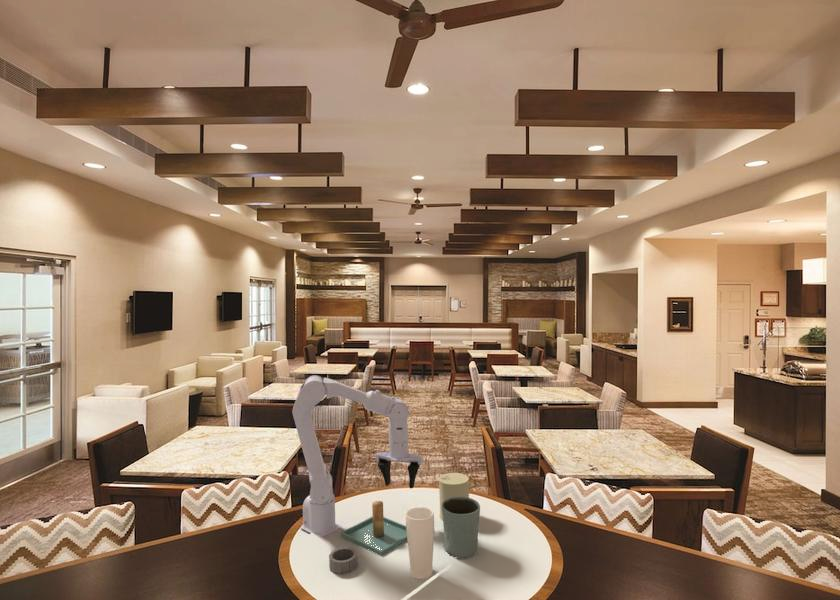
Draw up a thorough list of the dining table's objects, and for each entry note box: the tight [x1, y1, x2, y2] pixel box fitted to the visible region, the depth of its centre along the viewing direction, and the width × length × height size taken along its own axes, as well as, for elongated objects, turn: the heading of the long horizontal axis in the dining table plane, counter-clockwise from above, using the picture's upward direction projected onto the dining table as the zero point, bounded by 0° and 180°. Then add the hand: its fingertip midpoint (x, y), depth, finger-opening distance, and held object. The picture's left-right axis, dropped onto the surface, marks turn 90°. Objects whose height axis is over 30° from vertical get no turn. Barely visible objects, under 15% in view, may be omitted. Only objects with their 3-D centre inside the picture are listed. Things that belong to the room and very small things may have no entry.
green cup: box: [442, 497, 481, 559], centre depth 128 cm, size 10×10×12 cm
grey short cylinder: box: [328, 546, 359, 575], centre depth 121 cm, size 7×7×3 cm
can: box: [438, 472, 470, 521], centre depth 147 cm, size 9×9×12 cm
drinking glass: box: [405, 506, 435, 580], centre depth 117 cm, size 7×7×15 cm
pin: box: [371, 500, 385, 538], centre depth 136 cm, size 3×3×9 cm
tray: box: [340, 515, 408, 556], centre depth 136 cm, size 16×14×2 cm
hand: (399, 485), depth 145 cm, fingers open, 7 cm apart
